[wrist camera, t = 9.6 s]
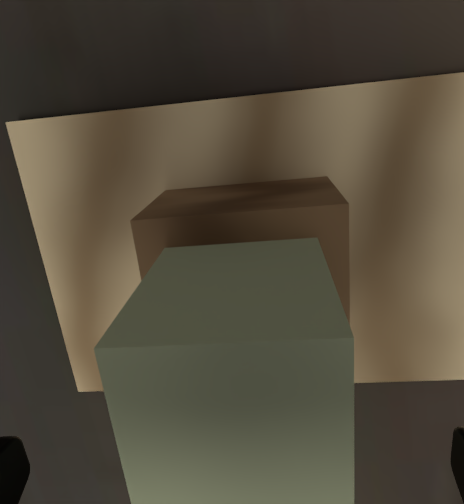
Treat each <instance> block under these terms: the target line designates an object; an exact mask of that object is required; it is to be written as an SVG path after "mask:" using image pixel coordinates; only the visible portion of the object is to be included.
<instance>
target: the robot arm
mask: <svg viewBox="0 0 464 504" xmlns="http://www.w3.org/2000/svg"><path fill="white" fill-rule="evenodd" d="M451 467H452V471H453V474H454V477H455V480H456V483H457V486H458V489H459V491H460V494H461V497H462V500H463V503H464V427H457V428H455V430H454V433H453V441H452V451H451ZM29 473H30V464H29V460H28V458H27V455H26V452H25V449H24V446H23V443H22V441H21V439H20V438H19V437H17V436H3V437H0V504H18V503H19V500H20V498H21V495H22V493H23V490H24V488H25V485H26V483H27V480H28V477H29Z"/></svg>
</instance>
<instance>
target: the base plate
mask: <svg viewBox="0 0 464 504" xmlns="http://www.w3.org/2000/svg"><path fill="white" fill-rule="evenodd" d="M6 126H7V130H8V133H9V137H10V141H11V145H12V148H13V152H14V156H15V159H16V163H17V167H18V170H19V174H20V178H21V182H22V185H23V189H24V193H25V196H26V200H27V204H28V207H29V211H30V215H31V218H32V222H33V226H34V230H35V233H36V237H37V241H38V244H39V248H40V252H41V255H42V259H43V263H44V267H45V270H46V274H47V278H48V281H49V285H50V289H51V292H52V296H53V300H54V304H55V307H56V311H57V315H58V318H59V322H60V326H61V329H62V333H63V337H64V340H65V344H66V348H67V352H68V355H69V359H70V363H71V366H72V370H73V374H74V377H75V381H76V385H77V389H78V392H86V391H104V389H103V385H102V381H101V377H100V373H99V369H98V365H97V361H96V357H95V352H94V347H95V346H96V345H97V343H98V342H99V340H100V339H101V338H102V336H103V335H104V333H105V332H106V330H107V329H108V328H109V326H110V325H111V323H112V322H113V321H114V319H115V318H116V316H117V315H118V313H119V312H120V311H121V309H122V308H123V306H124V305H125V304H126V302H127V301H128V299H129V298H130V296H131V295H132V294H133V292H134V291H135V289H136V288H137V287H138V285H139V284H140V282H141V281H142V279H143V278H144V277H145V275H146V274H147V272H148V271H149V270H150V268H151V267H152V265H153V264H154V262H155V261H156V260H157V258H158V257H159V255H160V254H161V253H162V251H163V250H164V248H170V247H185V246H200V245H214V244H229V243H244V242H258V241H273V240H287V239H302V238H318V240H319V243H320V246H321V249H322V251H323V254H324V257H325V260H326V262H327V265H328V268H329V271H330V273H331V276H332V279H333V281H334V284H335V287H336V290H337V292H338V295H339V298H340V301H341V303H342V306H343V309H344V312H345V314H346V317H347V320H348V323H349V325H350V328H351V331H352V334H353V336H354V383H371V382H403V381H435V380H464V72H461V73H452V74H443V75H434V76H425V77H415V78H406V79H397V80H388V81H379V82H370V83H361V84H351V85H342V86H333V87H324V88H315V89H306V90H297V91H287V92H278V93H269V94H260V95H251V96H242V97H232V98H223V99H214V100H205V101H196V102H187V103H178V104H168V105H159V106H150V107H141V108H132V109H123V110H114V111H104V112H95V113H86V114H77V115H68V116H59V117H50V118H40V119H31V120H22V121H13V122H6Z"/></svg>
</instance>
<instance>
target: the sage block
mask: <svg viewBox="0 0 464 504" xmlns="http://www.w3.org/2000/svg"><path fill="white" fill-rule="evenodd" d="M94 352H95V357H96V361H97V365H98V369H99V373H100V377H101V381H102V385H103V389H104V394H105V398H106V402H107V406H108V410H109V414H110V418H111V422H112V426H113V431H114V435H115V439H116V443H117V447H118V451H119V455H120V459H121V463H122V467H123V472H124V476H125V480H126V484H127V488H128V492H129V496H130V500H131V504H354V336H353V334H352V331H351V328H350V325H349V323H348V320H347V317H346V314H345V312H344V309H343V306H342V303H341V301H340V298H339V295H338V292H337V290H336V287H335V284H334V281H333V279H332V276H331V273H330V271H329V268H328V265H327V262H326V260H325V257H324V254H323V251H322V249H321V246H320V243H319V240H318V238H302V239H287V240H273V241H258V242H244V243H229V244H214V245H200V246H185V247H170V248H164V250H163V251H162V253H161V254H160V255H159V257H158V258H157V260H156V261H155V262H154V264H153V265H152V267H151V268H150V270H149V271H148V272H147V274H146V275H145V277H144V278H143V279H142V281H141V282H140V284H139V285H138V287H137V288H136V289H135V291H134V292H133V294H132V295H131V296H130V298H129V299H128V301H127V302H126V304H125V305H124V306H123V308H122V309H121V311H120V312H119V313H118V315H117V316H116V318H115V319H114V321H113V322H112V323H111V325H110V326H109V328H108V329H107V330H106V332H105V333H104V335H103V336H102V338H101V339H100V340H99V342H98V343H97V345H96V346H95V347H94Z"/></svg>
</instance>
